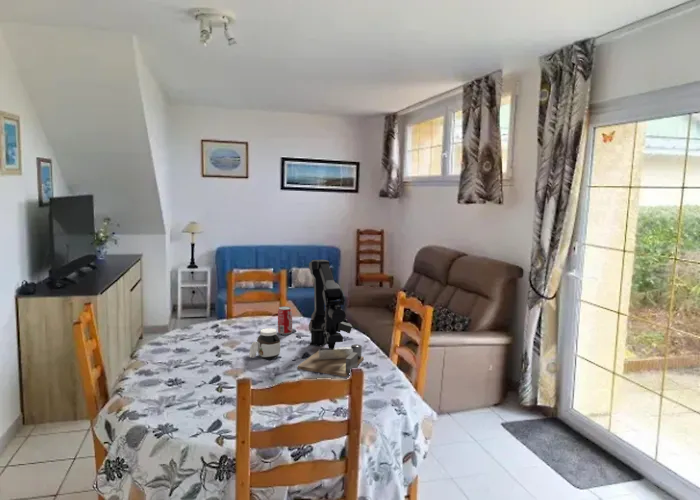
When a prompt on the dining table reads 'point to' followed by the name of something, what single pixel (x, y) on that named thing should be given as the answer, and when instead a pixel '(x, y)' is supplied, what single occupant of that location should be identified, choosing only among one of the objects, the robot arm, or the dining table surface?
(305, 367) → the frame
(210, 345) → the dining table surface
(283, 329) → the soda can
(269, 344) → the spread jar
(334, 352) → the latch bar
